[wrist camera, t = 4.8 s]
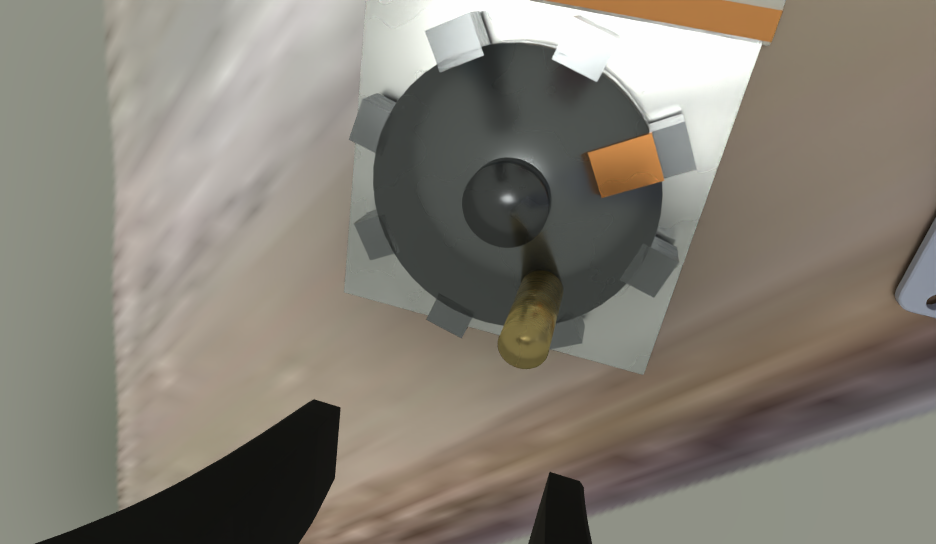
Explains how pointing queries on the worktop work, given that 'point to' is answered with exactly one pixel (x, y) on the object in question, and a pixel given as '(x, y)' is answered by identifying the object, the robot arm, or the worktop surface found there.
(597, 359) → the sprocket plate
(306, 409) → the robot arm
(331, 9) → the worktop surface
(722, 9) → the pad
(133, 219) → the worktop surface
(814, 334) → the worktop surface
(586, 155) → the sprocket
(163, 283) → the worktop surface
